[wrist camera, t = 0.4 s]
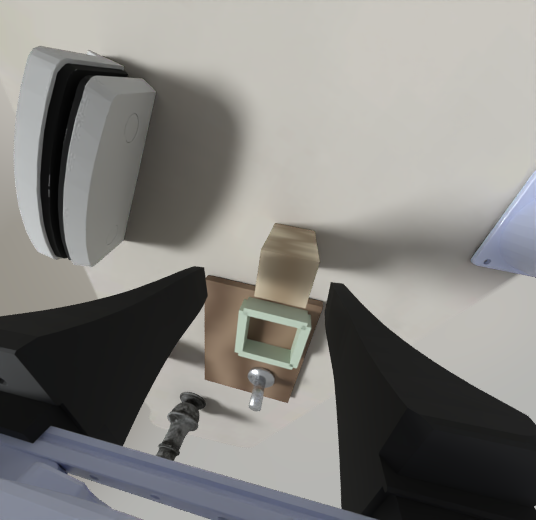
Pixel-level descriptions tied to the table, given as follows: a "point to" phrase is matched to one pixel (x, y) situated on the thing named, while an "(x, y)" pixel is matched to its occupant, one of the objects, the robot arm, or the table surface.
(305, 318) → the socket collar
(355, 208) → the table surface
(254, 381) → the metal post
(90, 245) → the white rounded block
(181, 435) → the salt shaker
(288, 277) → the maple peg
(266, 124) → the table surface
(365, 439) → the robot arm
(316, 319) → the walnut board
